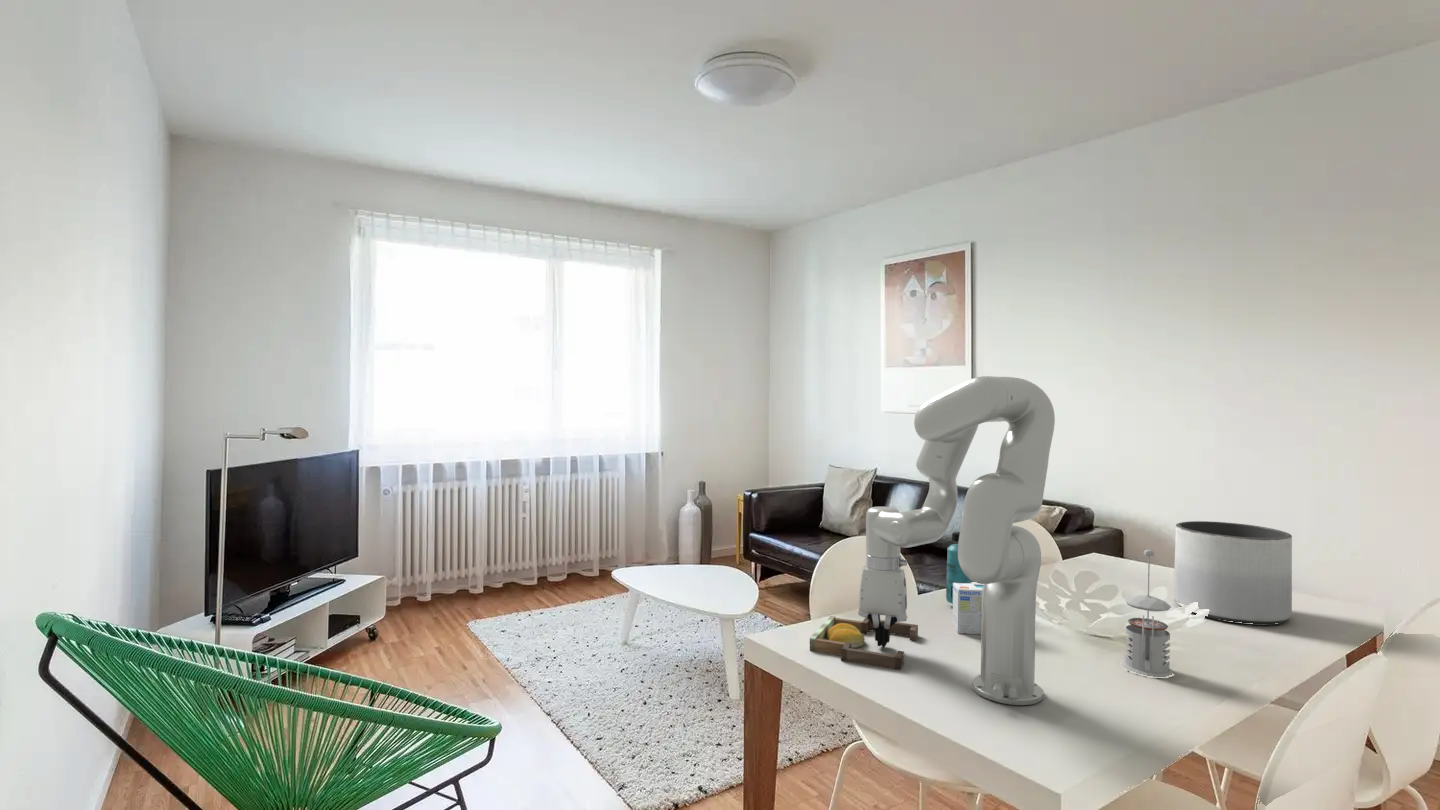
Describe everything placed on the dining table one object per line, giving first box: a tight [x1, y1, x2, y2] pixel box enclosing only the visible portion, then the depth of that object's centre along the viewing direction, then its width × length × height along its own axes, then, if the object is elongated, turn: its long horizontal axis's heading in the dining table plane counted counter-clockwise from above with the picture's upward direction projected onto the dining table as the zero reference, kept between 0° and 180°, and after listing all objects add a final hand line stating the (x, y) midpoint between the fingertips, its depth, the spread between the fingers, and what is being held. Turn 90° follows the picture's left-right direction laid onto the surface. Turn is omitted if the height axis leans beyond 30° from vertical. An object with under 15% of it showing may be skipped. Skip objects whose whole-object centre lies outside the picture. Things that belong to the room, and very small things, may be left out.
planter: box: [1173, 520, 1293, 625], centre depth 189 cm, size 25×25×22 cm
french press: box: [1120, 549, 1174, 677], centre depth 147 cm, size 10×12×25 cm
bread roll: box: [826, 623, 865, 649], centre depth 162 cm, size 8×9×4 cm
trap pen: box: [809, 615, 919, 671], centre depth 161 cm, size 23×20×3 cm
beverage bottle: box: [945, 531, 973, 605], centre depth 191 cm, size 6×7×20 cm
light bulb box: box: [952, 582, 984, 635], centre depth 172 cm, size 11×7×11 cm, turn 84°
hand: (882, 644), depth 159 cm, fingers closed
